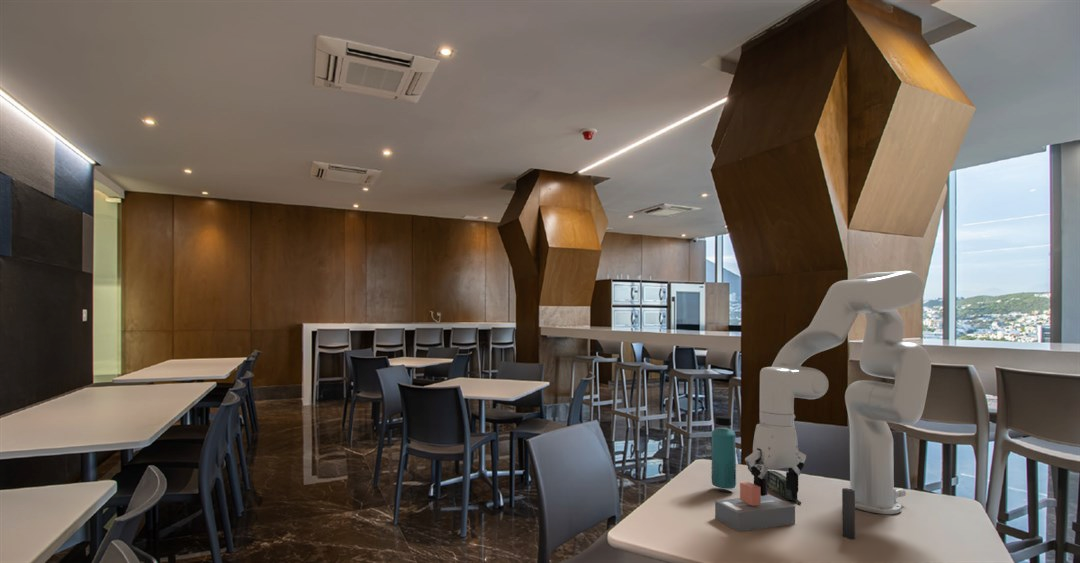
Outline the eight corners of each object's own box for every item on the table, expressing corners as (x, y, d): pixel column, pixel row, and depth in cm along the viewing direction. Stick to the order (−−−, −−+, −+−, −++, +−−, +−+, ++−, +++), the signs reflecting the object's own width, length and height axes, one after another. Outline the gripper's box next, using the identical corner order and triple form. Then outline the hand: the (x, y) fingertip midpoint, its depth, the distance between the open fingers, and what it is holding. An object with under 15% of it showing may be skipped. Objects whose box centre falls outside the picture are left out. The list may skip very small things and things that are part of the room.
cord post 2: (848, 533, 119) (847, 487, 119) (857, 538, 116) (857, 491, 117) (839, 535, 118) (839, 488, 118) (849, 539, 115) (849, 492, 116)
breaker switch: (748, 498, 127) (748, 481, 127) (760, 504, 123) (760, 487, 123) (740, 499, 126) (740, 482, 126) (752, 505, 122) (752, 487, 122)
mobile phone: (764, 468, 151) (792, 484, 136) (774, 469, 152) (803, 484, 137) (764, 487, 151) (792, 504, 136) (775, 487, 151) (804, 504, 136)
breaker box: (769, 511, 131) (769, 494, 131) (795, 523, 124) (795, 505, 124) (715, 518, 126) (715, 500, 126) (738, 531, 118) (738, 512, 118)
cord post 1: (762, 495, 143) (763, 457, 144) (769, 498, 141) (769, 459, 141) (755, 495, 142) (755, 457, 143) (762, 498, 140) (762, 460, 141)
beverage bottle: (738, 495, 142) (738, 419, 143) (712, 493, 143) (712, 417, 144) (734, 487, 148) (734, 415, 149) (709, 485, 150) (709, 413, 151)
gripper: (792, 415, 134) (792, 484, 133) (736, 417, 129) (735, 490, 128) (817, 421, 127) (817, 494, 126) (758, 424, 122) (757, 501, 121)
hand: (776, 492), depth 127 cm, fingers open, 9 cm apart
